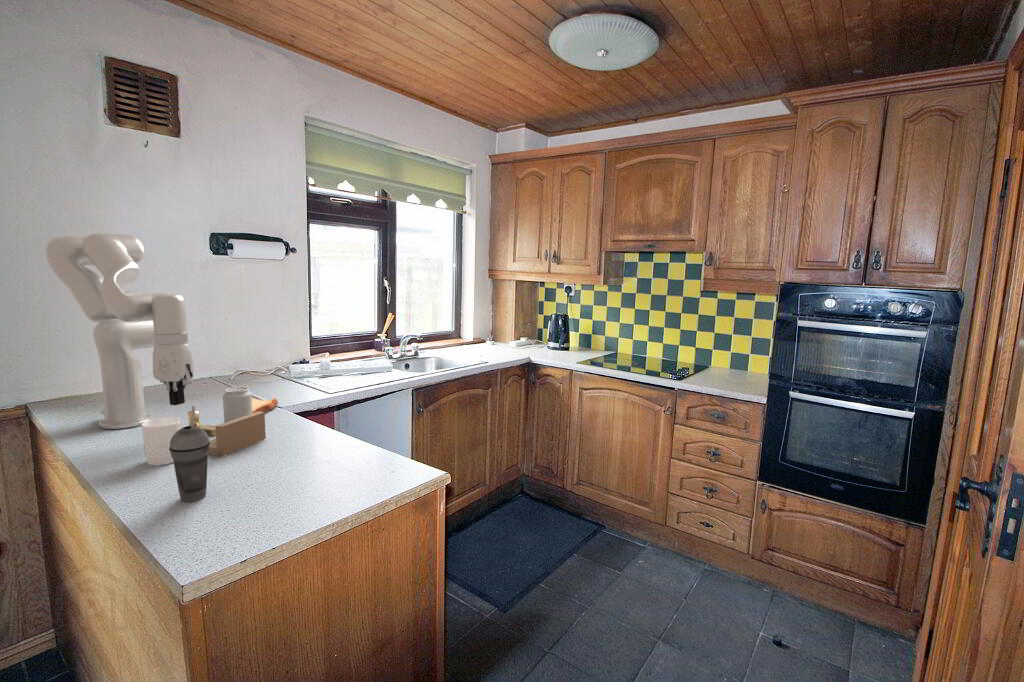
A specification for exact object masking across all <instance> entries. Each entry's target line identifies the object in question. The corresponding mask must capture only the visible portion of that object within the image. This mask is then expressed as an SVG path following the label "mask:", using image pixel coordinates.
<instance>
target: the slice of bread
mask: <svg viewBox="0 0 1024 682" xmlns="http://www.w3.org/2000/svg"><path fill="white" fill-rule="evenodd" d="M278 403H279V401H278V400H277V398H275V397H272V399H270V400H263V399H259V398H253V397H252V413H255V412H258V411H260V412H265V414H267V413H268V411H269V412H271V411H272V410H273V409H274V408H275V407H276V406H277V405H278Z"/></svg>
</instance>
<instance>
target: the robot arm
mask: <svg viewBox="0 0 1024 682" xmlns="http://www.w3.org/2000/svg"><path fill="white" fill-rule="evenodd" d="M45 255H46V260H47V263H48V265H49V267H50V269H51V270H52V272H53V273H54V275H56V277H57V278H58V279H59V280H60V281H61V282H62V283H63V284H64V285H65V286H66V287H67V288H68V290H69V291H70V292H71V294H72V295H73V297H74V300H75V301H76V302H77V303H78V306H80V309H81V310H82V312H83V313H84V315H85V316H86V318H88V319H89V320H90V321H91V322H94V323H98V324H96V325H95V326H94V328H93V330H92V336H93V337H92V338H93V341H94V344H95V347H96V350H97V353H98V358H99V359H98V360H99V364H100V374H101V383H102V384H101V385H102V394H103V395H102V396H103V403H104V404H103V405H104V408H103V409H101V410H100V411H99V413H100V414H101V415H104V417H103V419H102V420H100V421H99V422H98V427H99V428H102V429H106V430H120V429H122V430H123V429H129V428H134V427H138V426H142V425H141V424H142V423H144V422H146V421H148V420H152V419H153V415H151V414H150V413H146V406H145V396H144V395H145V392H144V384H143V383H144V382H143V380H144V379H143V371H142V370H143V369H142V363H141V361H140V359H138V358H137V356H136V355H134V353H133V352H132V351H135V350H142V349H148V348H153V349H152V350H153V351H152V373H153V374H152V375H153V379H155V380H157V381H159V382H160V383H162V384H164V385H165V387H166V390H167V392H168V398H169V406H178V405H182V404H185V402H186V399H185V390H186V386H187V385H192V383H193V382H192V379H193V377H194V375H195V374H194V371H195V370H194V369H195V368H194V360H193V356H192V355H193V354H192V352H191V348H190V344H189V336H188V325H187V316H186V302H185V298H184V297H183V296H182V295H181V294H167V293H163V292H162V293H161V292H157V293H155V292H154V293H152V292H150V293H140V292H138V291H136V290H129V289H128V290H122V289H121V288H124V287H127V286H129V285H131V284H132V283H134V282H135V281H137V279H138V278H139V277H140V274H141V268H140V267H139V265H138V263H140V262H141V261H142V260H143V259H144V257H145V247H144V245H143V244H142V242H141V240H140V239H138V238H137V237H135V236H134V235H130V234H119V233H106V232H105V233H104V232H98V233H97V232H96V233H92V234H89V235H87V236H70V235H69V236H67V235H66V236H58V237H55V238H52V239H51V240H49V241H48V243H47V245H46V247H45ZM86 266H95V267H96V269H97V270H98V271H99V272H100V274H101V275H102V276H103V277H104V278H102V277H101V276H100V275H99V274H98V273H96V272H94V271H93V270H91V269H89V268H88V267H86Z"/></svg>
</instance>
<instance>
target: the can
mask: <svg viewBox="0 0 1024 682" xmlns="http://www.w3.org/2000/svg"><path fill="white" fill-rule="evenodd" d="M224 391H225V392H224V394H222V404H223V423H225V422H228V421H231V420H234V419H237V418H240V417H243V416H246V415H249V414H252V398H253V397H252V392H251V391H250V388H249V387H247V386H246V387H245V386H237V387H235V386H234V387H229V388H226V389H225V390H224Z"/></svg>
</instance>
